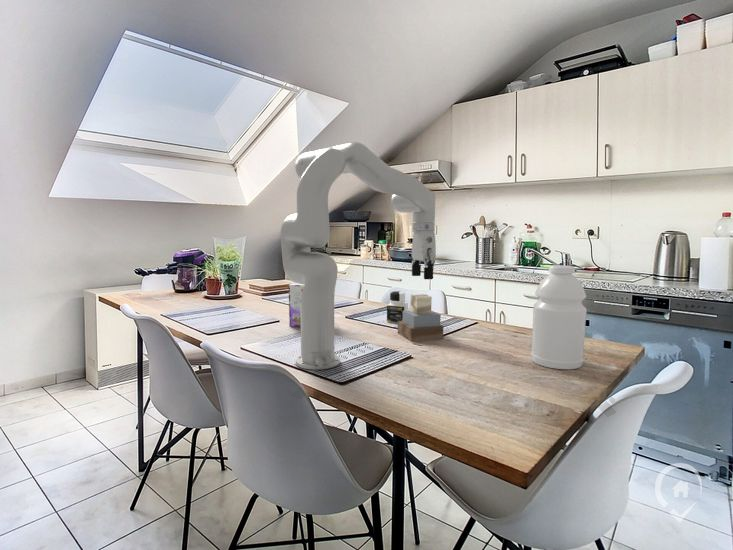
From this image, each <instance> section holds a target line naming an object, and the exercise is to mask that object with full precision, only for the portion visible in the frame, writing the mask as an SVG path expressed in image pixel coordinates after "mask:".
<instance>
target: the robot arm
mask: <svg viewBox="0 0 733 550" xmlns="http://www.w3.org/2000/svg"><path fill="white" fill-rule="evenodd" d="M294 168H295V173H296V175H297V176H298V177H299V178H300V180H299V182H298V185H297V189H296V213H293V214H290V215H288V216H287V217H286V218H285V219H284V220H283V222H282V225H281V227H280V244H281V245H280V246H281V255H282V256H281V258H282V259H281V260H282V265H283V267H282V268H283V271H284V273H285V276H286V277H287V278H288V279H289V281H291V282H292V283H299V284H304V289H303V292H302V295H301V301H300V314H301V327H300V355H299V356H297V357H296V359H295V365H296V366H298V368H301V369H306V370H311V371H312V370H315V371H317V370H320V371H321V370H327V369H331V368H334V367H335V368H336V367H337V366H338V365H339V364H340V363H341V358H340V357H339V356H338V355H337V354H336V353H335V350H336V349H335V346H336V345H335V295H336V294H335V292H336V285H337V279H338V275H339V274H338V273H339V271H338V270H339V269H338V265H337V262H336V261H335V259H334V257H332V256H331V255H328V254H327V253H324V252H316V251H311V248H312V249H313V248H322V247H325V246H326V245H327V244H328V242H329V241H330V235H331V231H330V229H331V227H330V216H329V215H330V214H329V193H330V189H331V188H332V186H333V184H334V182H335V181H336V180H337V179H338V178H339V177H340V176H341V175H342V174H352V175H354V176H355V177H356V178H358V179H359V180H360V181H361V182H363V183H364V184H365V185H367V186H368V187H369V188H370V189H372V190H373V191H376V192H379V193H383V194H388V195H392V196H391V199H390V200H391V201H390V204H391V206H392V208H393V209H394V210H395V211H396V212H399V213H412V228H411V231H412V232H413V234H412V243H411V244H412V245H411V252H410V255H411V256H410V257H411V258H410V259H411V276H413V277H421V275H422V274H421V273H422V272H421V271H422V265H421V262H423V263H424V266H425V267H423V279H424V280H433V279H434V268H435V263H436V259H437V257H436V256H437V255H436V254H437V253H436V252H437V251H436V249H437V248H436V243H437V242H436V235H435V230H436V229H435V223H436V219H435V218H436V194H435V192H433V191H431V190H430V189H429V188H428V187H427V186H426V185H425V184H424V183H422V181H420V180H419V179H418V178H415V177H414V176H412V175H410V174H407V173H406V172H404V171H403V172H402V171H401V170H398V169H396V168H393V167H391V166H389V165H388V164H387V163H385V162H384V161H383V160H382V159H381V158H380V157H379V156H378V155H376V154H375V153H374V152H373V151H372V150H370V148H368V147H367V146H366V145H365V144H363V143H361V142H356V141H354V142H348V143H343V144H338V145H334V146H330V147H326V148H322V149H318V150H312V151H308V152H304V153H302V154H300V155H299V156H298V157H297V159H296V161H295V167H294Z"/></svg>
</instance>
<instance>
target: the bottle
mask: <svg viewBox="0 0 733 550" xmlns="http://www.w3.org/2000/svg"><path fill="white" fill-rule="evenodd" d="M548 272H549V274H548V275H546V276H545V277H544V278H543V279H542V281H540V283H539V284H538V286H537V289H536V291H535V292H534V293H535V296H537V298H538V300H537V302H535V303H534V304H533V307H532V308H533V309H532V311H533V312H532V331H531V332H532V333H531V336H532V337H531V351H530V358H531V362H533V363H535V364H537V365H538V366H542V367H545V368H550V369H556V370H575V369H579V368H581V367H582V366H583V363H584V360H585V359H584V349H585V348H584V347H585V339H586V338H585V335H586V324H587V323H586V322H587V320H586V319H587V311H588V309H587V308H586V307H585V306H584V305H583V301H584V300H585V299H586V298H587V294H586V290H585V288H584V286H583V285H582V283H581V282H580V280H578V278H577V277H576V276H575V275H574V274H575V272H576V269H575V267H574V266H572V265H558V264H555V265H554V264H553V265H549V266H548Z"/></svg>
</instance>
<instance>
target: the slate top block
mask: <svg viewBox="0 0 733 550" xmlns="http://www.w3.org/2000/svg"><path fill="white" fill-rule="evenodd" d="M402 322H404V323H406V324H408V325H410V326H411V327H413V328H419V327H432V326H440V325H441V314H440V313H438V312H436V311H433V310H431V314H420V315H416V314H414V313H412V312H410V309H408V310H405V311H403V320H402Z"/></svg>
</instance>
